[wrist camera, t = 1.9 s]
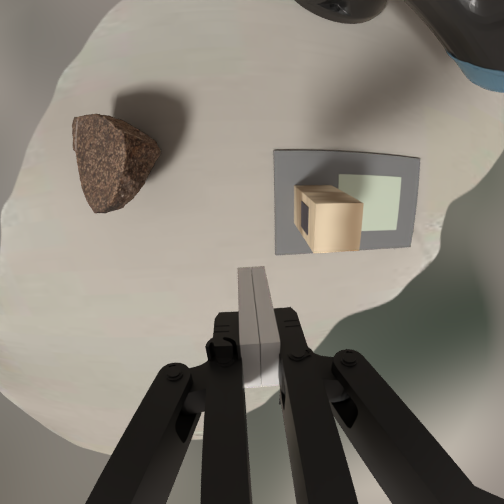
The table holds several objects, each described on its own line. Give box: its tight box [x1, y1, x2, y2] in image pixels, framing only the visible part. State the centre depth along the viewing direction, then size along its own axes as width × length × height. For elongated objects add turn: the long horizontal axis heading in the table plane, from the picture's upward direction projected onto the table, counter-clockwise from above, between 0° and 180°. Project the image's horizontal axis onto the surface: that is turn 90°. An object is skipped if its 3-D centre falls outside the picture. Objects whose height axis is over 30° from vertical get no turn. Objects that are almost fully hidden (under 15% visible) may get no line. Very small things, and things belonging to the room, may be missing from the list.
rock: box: [72, 114, 161, 213], centre depth 27 cm, size 12×10×10 cm
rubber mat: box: [273, 150, 420, 255], centre depth 35 cm, size 22×14×1 cm, turn 92°
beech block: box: [294, 185, 364, 253], centre depth 30 cm, size 5×5×10 cm
